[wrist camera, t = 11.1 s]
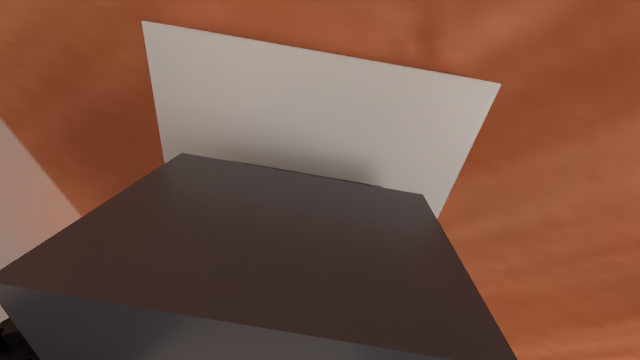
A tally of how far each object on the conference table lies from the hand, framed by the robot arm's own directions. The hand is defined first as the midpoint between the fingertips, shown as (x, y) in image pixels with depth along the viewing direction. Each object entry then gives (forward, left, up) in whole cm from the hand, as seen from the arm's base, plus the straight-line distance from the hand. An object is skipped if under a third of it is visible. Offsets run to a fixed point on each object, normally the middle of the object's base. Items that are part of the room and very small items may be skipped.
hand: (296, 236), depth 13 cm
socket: (0, 0, -3) cm, 3 cm away
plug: (0, 0, 0) cm, 0 cm away
